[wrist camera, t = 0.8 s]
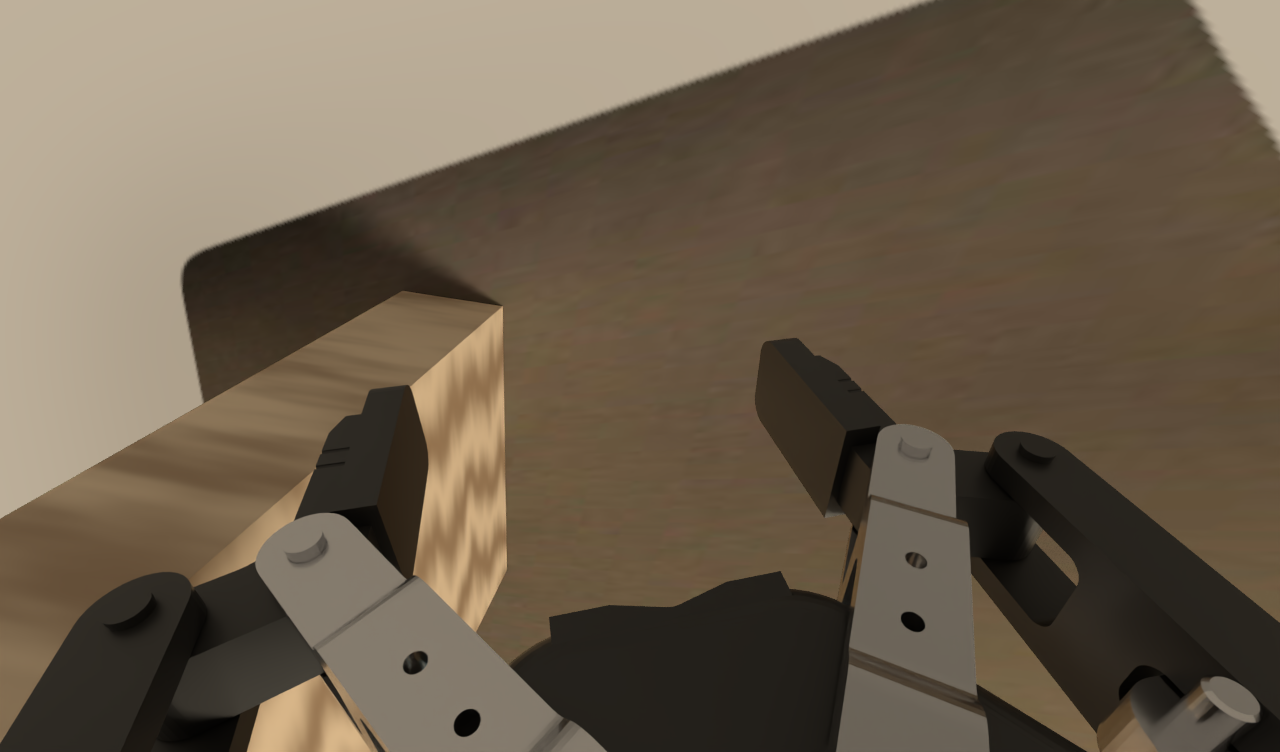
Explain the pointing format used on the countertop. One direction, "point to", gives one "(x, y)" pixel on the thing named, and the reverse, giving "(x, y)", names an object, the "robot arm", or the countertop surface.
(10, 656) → the wavy striped plinth
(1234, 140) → the countertop surface
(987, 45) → the countertop surface
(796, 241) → the countertop surface
